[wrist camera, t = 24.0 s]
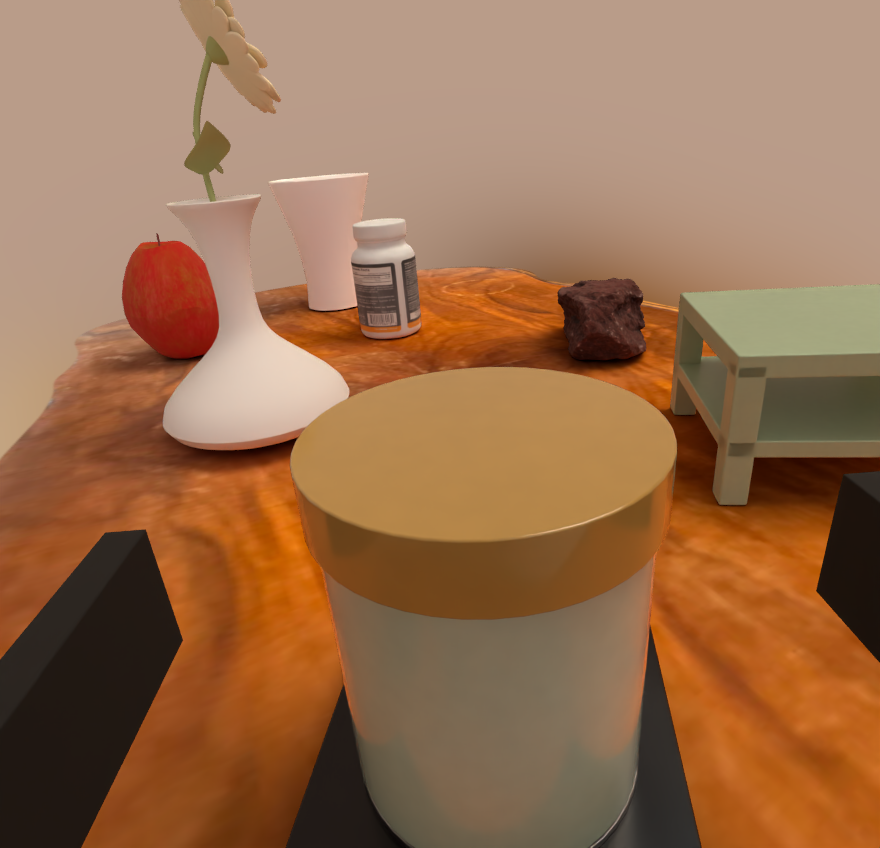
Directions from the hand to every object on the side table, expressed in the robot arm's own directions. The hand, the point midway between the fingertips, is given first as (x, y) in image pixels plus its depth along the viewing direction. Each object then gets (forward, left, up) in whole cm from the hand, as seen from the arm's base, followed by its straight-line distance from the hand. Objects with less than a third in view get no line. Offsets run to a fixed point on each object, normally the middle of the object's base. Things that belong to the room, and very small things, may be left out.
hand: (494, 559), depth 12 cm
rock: (+38, -5, -8) cm, 40 cm away
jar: (+1, 0, -6) cm, 6 cm away
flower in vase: (+24, +17, -8) cm, 31 cm away
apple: (+39, +31, -8) cm, 51 cm away
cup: (+56, +22, -8) cm, 61 cm away
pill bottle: (+44, +13, -8) cm, 47 cm away
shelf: (+20, -14, -8) cm, 26 cm away
